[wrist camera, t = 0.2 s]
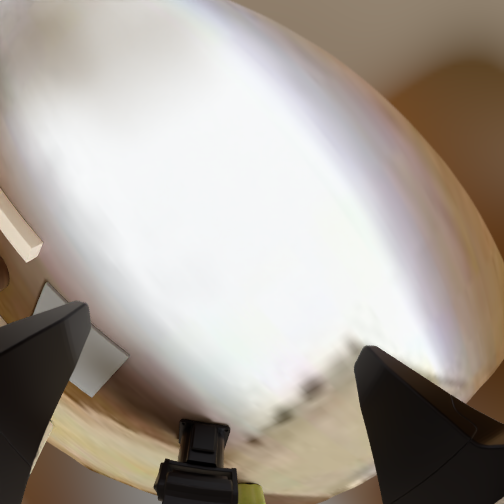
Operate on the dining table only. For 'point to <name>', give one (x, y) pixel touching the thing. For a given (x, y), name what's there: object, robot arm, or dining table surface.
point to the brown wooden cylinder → (3, 275)
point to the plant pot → (250, 494)
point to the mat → (87, 350)
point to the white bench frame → (17, 233)
